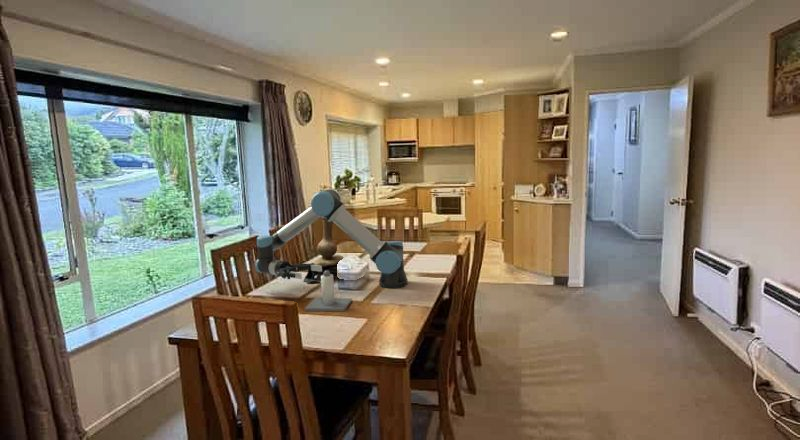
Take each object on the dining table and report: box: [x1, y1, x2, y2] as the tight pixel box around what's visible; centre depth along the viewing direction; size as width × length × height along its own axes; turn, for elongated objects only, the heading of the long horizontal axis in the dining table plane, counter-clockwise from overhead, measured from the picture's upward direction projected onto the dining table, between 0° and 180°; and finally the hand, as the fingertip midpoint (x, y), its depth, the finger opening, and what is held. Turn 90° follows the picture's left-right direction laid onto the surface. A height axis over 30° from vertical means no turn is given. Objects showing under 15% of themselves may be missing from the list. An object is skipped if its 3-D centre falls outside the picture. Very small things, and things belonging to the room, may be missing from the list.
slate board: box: [304, 297, 353, 312], centre depth 195 cm, size 18×14×1 cm
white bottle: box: [320, 271, 336, 305], centre depth 194 cm, size 6×6×15 cm
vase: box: [302, 216, 345, 285], centre depth 241 cm, size 24×22×35 cm
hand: (311, 272), depth 200 cm, fingers open, 13 cm apart
